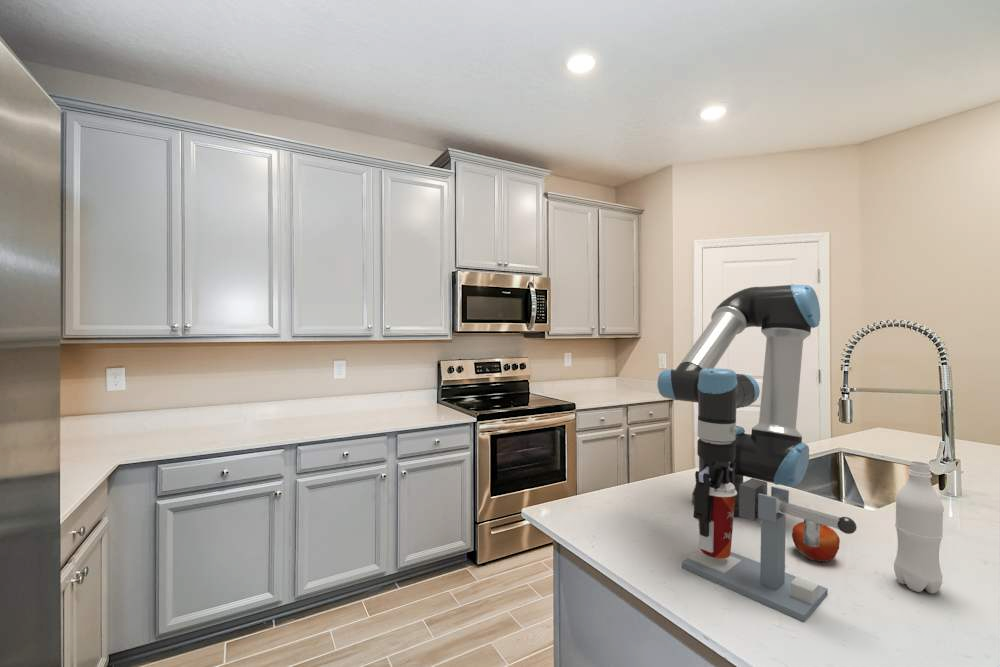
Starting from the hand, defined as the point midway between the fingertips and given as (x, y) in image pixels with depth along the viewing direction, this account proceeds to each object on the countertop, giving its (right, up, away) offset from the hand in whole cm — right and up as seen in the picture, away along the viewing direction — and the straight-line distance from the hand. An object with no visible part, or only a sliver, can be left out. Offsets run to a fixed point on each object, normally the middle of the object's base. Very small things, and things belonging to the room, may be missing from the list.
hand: (714, 544), depth 99 cm
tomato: (+25, -5, +4) cm, 26 cm away
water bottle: (+37, -5, -8) cm, 38 cm away
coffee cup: (0, -2, 0) cm, 2 cm away
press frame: (+5, -5, -6) cm, 9 cm away
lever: (+10, +7, -12) cm, 17 cm away
